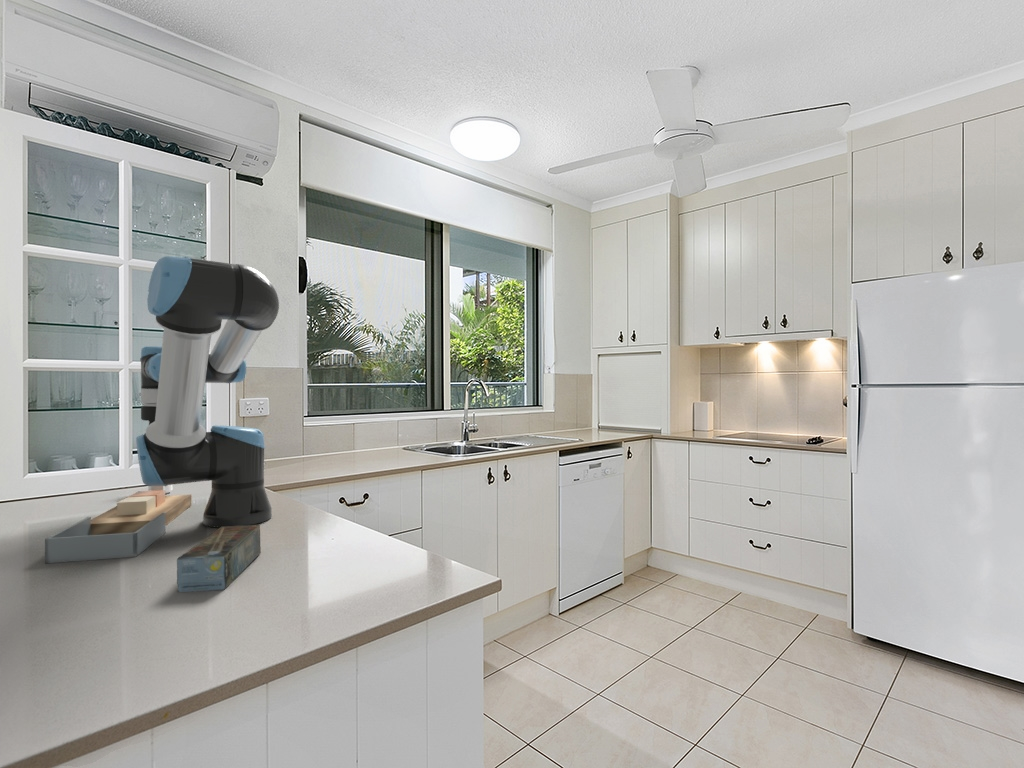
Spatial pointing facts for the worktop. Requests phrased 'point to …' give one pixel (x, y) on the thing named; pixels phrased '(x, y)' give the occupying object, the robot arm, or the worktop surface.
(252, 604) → the worktop surface
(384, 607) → the worktop surface
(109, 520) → the oak board
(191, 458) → the robot arm
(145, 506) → the sand tile
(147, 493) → the terracotta tile
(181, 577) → the beverage carton
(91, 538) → the tray
